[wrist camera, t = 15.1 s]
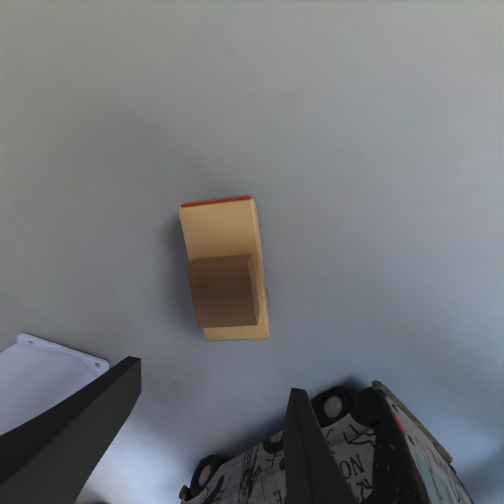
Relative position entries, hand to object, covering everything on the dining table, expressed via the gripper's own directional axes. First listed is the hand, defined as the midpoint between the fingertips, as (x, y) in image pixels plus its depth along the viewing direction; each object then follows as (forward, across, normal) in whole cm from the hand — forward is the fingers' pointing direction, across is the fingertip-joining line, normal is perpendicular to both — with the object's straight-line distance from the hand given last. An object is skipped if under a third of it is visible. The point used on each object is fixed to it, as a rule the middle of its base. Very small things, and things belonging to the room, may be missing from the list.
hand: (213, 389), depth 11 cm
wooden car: (+10, +1, -3) cm, 10 cm away
